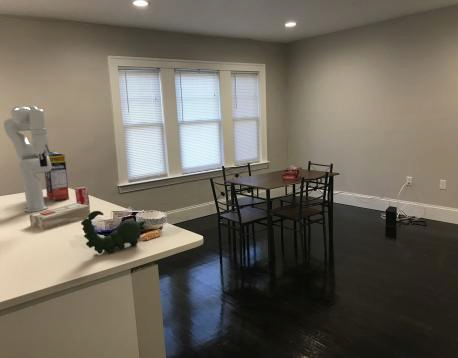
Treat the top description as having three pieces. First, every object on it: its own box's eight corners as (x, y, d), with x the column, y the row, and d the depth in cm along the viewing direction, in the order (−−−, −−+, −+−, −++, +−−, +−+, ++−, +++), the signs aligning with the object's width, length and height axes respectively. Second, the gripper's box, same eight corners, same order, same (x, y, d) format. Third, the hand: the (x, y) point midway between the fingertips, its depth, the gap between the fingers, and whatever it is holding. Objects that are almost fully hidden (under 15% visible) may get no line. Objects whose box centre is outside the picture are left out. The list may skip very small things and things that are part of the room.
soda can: (85, 209, 220) (83, 188, 218) (75, 209, 221) (72, 188, 219) (92, 206, 227) (89, 186, 224) (81, 206, 228) (79, 186, 226)
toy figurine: (94, 264, 141) (153, 242, 155) (83, 217, 136) (145, 199, 150) (87, 257, 148) (144, 237, 162) (76, 213, 144) (136, 196, 158)
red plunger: (41, 220, 192) (40, 212, 192) (50, 217, 196) (49, 210, 196) (46, 221, 190) (45, 213, 189) (55, 218, 193) (54, 211, 193)
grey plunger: (66, 214, 204) (65, 207, 203) (74, 211, 208) (73, 205, 207) (71, 215, 201) (70, 208, 200) (79, 212, 205) (78, 205, 204)
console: (31, 225, 193) (29, 214, 192) (76, 213, 213) (74, 203, 212) (45, 229, 185) (43, 217, 184) (90, 215, 205) (89, 205, 204)
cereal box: (70, 199, 252) (65, 152, 247) (52, 201, 246) (46, 154, 241) (62, 194, 274) (58, 151, 269) (46, 196, 268) (41, 152, 263)
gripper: (25, 133, 200) (30, 166, 203) (39, 133, 191) (44, 168, 194) (38, 132, 205) (43, 164, 209) (53, 131, 197) (58, 165, 200)
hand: (44, 166), depth 201 cm, fingers closed
